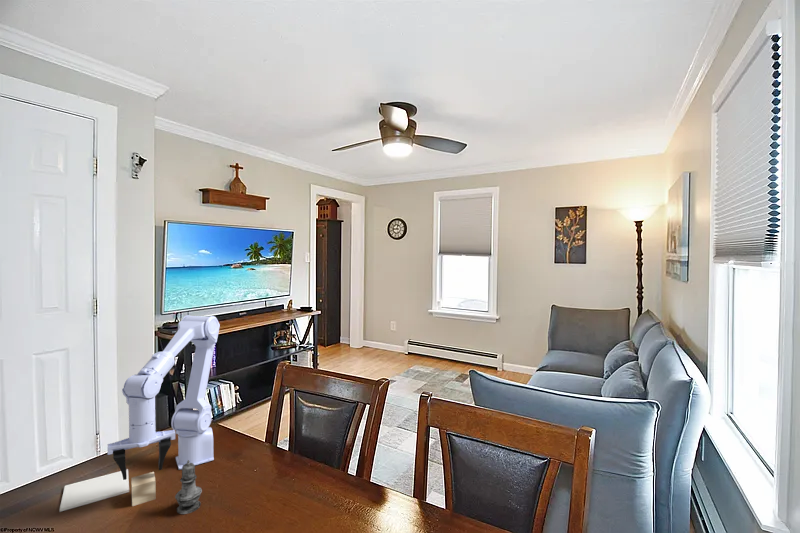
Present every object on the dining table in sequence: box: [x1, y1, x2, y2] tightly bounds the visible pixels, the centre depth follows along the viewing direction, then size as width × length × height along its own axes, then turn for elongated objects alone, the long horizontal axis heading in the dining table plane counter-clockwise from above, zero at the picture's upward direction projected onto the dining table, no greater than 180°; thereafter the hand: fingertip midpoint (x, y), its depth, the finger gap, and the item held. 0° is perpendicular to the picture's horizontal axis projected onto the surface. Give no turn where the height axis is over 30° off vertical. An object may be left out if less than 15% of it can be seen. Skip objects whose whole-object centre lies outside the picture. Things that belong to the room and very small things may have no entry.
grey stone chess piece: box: [174, 460, 203, 515], centre depth 98 cm, size 6×6×12 cm
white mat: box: [59, 468, 130, 513], centre depth 105 cm, size 14×12×1 cm
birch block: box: [130, 471, 157, 507], centre depth 102 cm, size 5×5×5 cm
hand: (143, 473), depth 102 cm, fingers open, 7 cm apart
